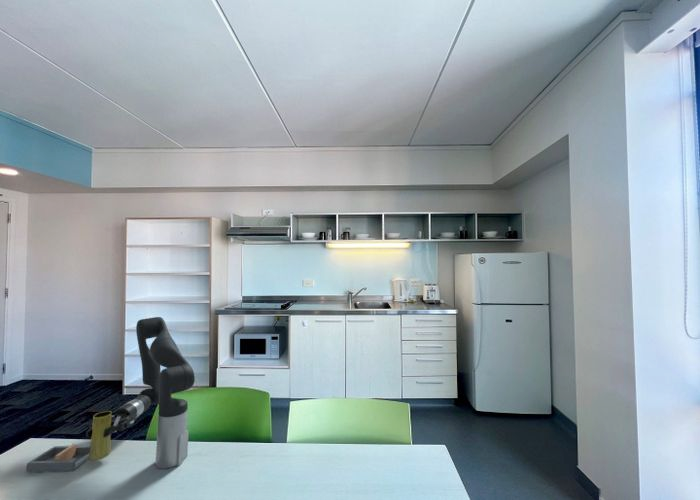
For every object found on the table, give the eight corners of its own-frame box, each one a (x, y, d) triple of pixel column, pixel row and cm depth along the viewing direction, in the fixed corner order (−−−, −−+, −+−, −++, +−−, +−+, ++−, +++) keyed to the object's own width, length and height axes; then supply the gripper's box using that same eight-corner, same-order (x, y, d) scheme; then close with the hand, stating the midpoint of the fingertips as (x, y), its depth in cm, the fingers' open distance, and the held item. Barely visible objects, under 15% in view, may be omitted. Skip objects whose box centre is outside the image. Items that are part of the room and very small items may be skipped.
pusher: (75, 455, 112) (76, 443, 112) (57, 467, 104) (58, 455, 105) (72, 455, 111) (73, 443, 112) (54, 467, 104) (55, 455, 105)
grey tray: (95, 454, 113) (96, 445, 113) (72, 471, 103) (73, 462, 103) (53, 454, 112) (54, 446, 113) (26, 472, 102) (27, 463, 103)
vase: (114, 450, 111) (117, 410, 112) (99, 461, 105) (102, 418, 106) (99, 449, 112) (102, 409, 113) (83, 460, 106) (86, 417, 107)
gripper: (110, 403, 123) (75, 424, 107) (147, 402, 124) (117, 423, 107) (109, 422, 123) (73, 446, 106) (145, 421, 124) (116, 445, 107)
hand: (95, 434), depth 107 cm, fingers closed on vase, 5 cm apart
